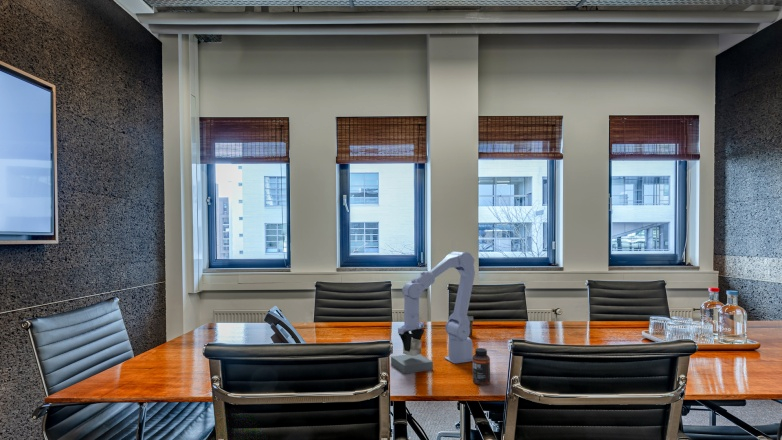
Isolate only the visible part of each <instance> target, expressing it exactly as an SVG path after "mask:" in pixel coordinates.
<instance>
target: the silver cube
mask: <svg viewBox="0 0 782 440" xmlns="http://www.w3.org/2000/svg"><path fill="white" fill-rule="evenodd" d="M406 354H407V355H411V356H415V355H418V354H422V340H418V339H413V338H412V339H411V347H410V351H409V352H408V351H405V350H404V346H403V345H402V355H406Z"/></svg>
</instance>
